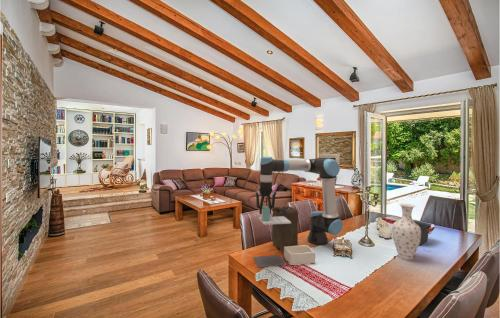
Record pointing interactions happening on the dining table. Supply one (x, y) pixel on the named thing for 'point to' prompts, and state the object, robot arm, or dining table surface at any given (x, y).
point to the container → (285, 228)
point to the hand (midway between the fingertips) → (265, 218)
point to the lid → (272, 218)
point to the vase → (406, 234)
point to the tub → (299, 254)
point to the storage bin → (424, 231)
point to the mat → (269, 261)
